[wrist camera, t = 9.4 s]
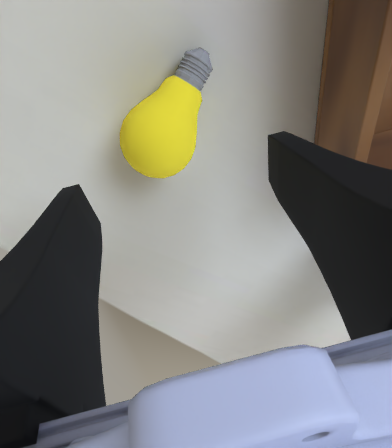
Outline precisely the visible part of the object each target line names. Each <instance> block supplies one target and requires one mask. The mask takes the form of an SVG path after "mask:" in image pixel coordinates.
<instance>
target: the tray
mask: <svg viewBox="0 0 392 448" xmlns="http://www.w3.org/2000/svg"><path fill="white" fill-rule="evenodd" d="M314 144H316V145H318V146H320V147H323V148H325V149H328V150H330V151H333V152H335V153H338V154H341V155H343V156H346V157H349V158H352V159H355V160H358V161H361V162H364V163H368V164H372V165H375V166H379V167H383V168H387V169H392V0H329V6H328V16H327V25H326V35H325V45H324V54H323V64H322V73H321V83H320V93H319V102H318V112H317V121H316V131H315V141H314Z"/></svg>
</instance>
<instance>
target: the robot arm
mask: <svg viewBox="0 0 392 448" xmlns="http://www.w3.org/2000/svg"><path fill="white" fill-rule="evenodd" d="M268 170H269V182H270V184H271V186H272V189H273V191H274V193H275V195H276V197H277V199H278V201H279V203H280V204H281V206H282V207H283V209H284V210H285V212H286V213H287V215H288V216H289V218H290V219H291V221H292V222H293V224H294V225H295V227H296V229H297V230H298V232H299V233H300V235H301V236H302V238H303V239H304V241H305V242H306V244H307V246H308V247H309V249H310V251H311V253H312V255H313V257H314V259H315V261H316V263H317V265H318V267H319V269H320V271H321V273H322V275H323V277H324V279H325V281H326V283H327V285H328V287H329V289H330V292H331V294H332V296H333V298H334V301H335V303H336V305H337V307H338V310H339V312H340V314H341V316H342V319H343V321H344V324H345V326H346V329H347V331H348V333H349V336H350V338H351V340H350V341H347V342H343V343H339V344H335V345H332V346H328V347H324V348H319V347H314V346H309V345H298V346H291V347H284V348H279V349H275V350H272V351H268V352H264V353H260V354H257V355H253V356H249V357H245V358H242V359H238V360H234V361H230V362H227V363H223V364H220V365H216V366H212V367H208V368H204V369H201V370H197V371H193V372H189V373H186V374H182V375H178V376H175V377H171V378H167V379H164V380H162V381H159V382H157V383H154V384H151V385H149V386H146V387H144V388H143V389H142V390H141V391H140V392H139V393H138V394H136V395H135V396H134V397H133V398H132V399H130V400H127V401H123V402H119V403H116V404H112V405H108V406H106V402H105V394H104V385H103V374H102V364H101V353H100V336H99V315H98V297H99V284H100V272H101V259H102V233H101V223H100V221H99V220H98V218H97V216H96V214H95V212H94V211H93V209H92V207H91V205H90V203H89V201H88V200H87V198H86V196H85V194H84V192H83V191H82V189H81V187H80V185H79V184H78V185H74V186H70V187H66V188H63V189H62V190H61V191H60V192H59V193H58V194H57V196H56V197H55V198H54V199H53V201H52V202H51V203H50V204H49V206H48V207H47V208H46V210H45V211H44V212H43V213H42V215H41V216H40V217H39V218H38V220H37V221H36V222H35V224H34V225H33V226H32V227H31V228H30V229H29V231H28V232H27V233H26V234H25V235H24V236H23V238H22V239H21V240H20V241H19V242H18V243H17V245H16V246H15V247H14V248H13V249H12V250H11V251H10V252H9V253H8V254H7V255H6V256H5V257H4V258H3V259H2V260H1V261H0V448H392V169H387V168H383V167H379V166H375V165H372V164H368V163H364V162H361V161H358V160H355V159H352V158H349V157H346V156H343V155H341V154H338V153H335V152H333V151H330V150H328V149H325V148H323V147H320V146H318V145H316V144H313V143H311V142H309V141H307V140H304V139H302V138H300V137H298V136H295V135H293V134H290V133H288V132H285V131H283V132H279V133H275V134H271V135H268Z"/></svg>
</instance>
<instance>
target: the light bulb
mask: <svg viewBox="0 0 392 448" xmlns="http://www.w3.org/2000/svg"><path fill="white" fill-rule="evenodd" d="M184 55H185V56H184V57H183V58H182V61H180V65H179V66H178V67H179V68H178V69H177V70H176V73H175V75H173V76H170V77H168V78H166V79H165V80H164V82H163V83H162V84H161V86H160V87H159V89H158V90H157V91H155V92H154V93H153V94H151V95H150V96H148V97H147V98H146V99H144V100H143V101H141V102H140V103H139V104H138V105H136V106H135V107H134V108H133V109H131V110H130V112H129V113H128V115H127V116H126V118H125V119H124V120H123V124H122V127H121V130H120V147H121V149H122V152H123V155H124V158H125V159H126V160H127V161H128V163H129V164H130V165H131V166H132V167H133V168H134V169H135V170H136V171H138V172H139V173H141V174H143V175H145V176H148V177H153V178H165V177H169V176H173V175H175V174H176V173H178V172H179V171H181V170H182V169H184V168H185V166H186V165H187V164H188V162H189V161H190V160H191V158H192V155H193V152H194V150H195V146H196V135H197V114H198V111H199V108H200V105H201V102H202V97H201V92H200V90H201V89H202V88H203V84H204V83H206V81H205V80H207V79H208V78H207V77H209V73H210V72H211V71H212V70H213V69H212V65H211V61H210V58H209V53H208V52H207V51H206V50H204V49H202V48H200V47H199V48H198V49H194V50H190V51H186V52H185V54H184Z"/></svg>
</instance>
